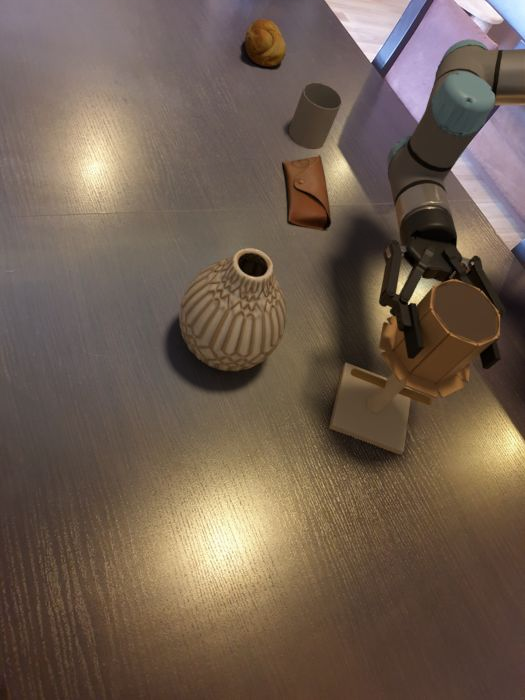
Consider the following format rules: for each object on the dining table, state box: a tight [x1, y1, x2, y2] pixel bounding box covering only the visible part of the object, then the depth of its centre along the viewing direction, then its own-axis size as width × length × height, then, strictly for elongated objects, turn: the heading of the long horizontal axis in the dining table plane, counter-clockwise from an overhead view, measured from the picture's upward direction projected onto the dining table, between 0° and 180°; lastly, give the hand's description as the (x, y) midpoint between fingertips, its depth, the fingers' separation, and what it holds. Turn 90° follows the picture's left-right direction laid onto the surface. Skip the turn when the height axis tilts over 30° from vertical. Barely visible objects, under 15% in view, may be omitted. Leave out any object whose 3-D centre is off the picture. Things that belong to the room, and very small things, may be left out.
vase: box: [178, 247, 287, 372], centre depth 82 cm, size 16×16×20 cm
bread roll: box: [244, 19, 287, 68], centre depth 133 cm, size 13×10×8 cm
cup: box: [288, 82, 343, 150], centre depth 120 cm, size 8×8×10 cm
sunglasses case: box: [282, 154, 332, 231], centre depth 113 cm, size 18×7×7 cm, turn 4°
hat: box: [378, 278, 501, 399], centre depth 72 cm, size 13×13×10 cm
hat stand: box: [328, 362, 434, 456], centre depth 83 cm, size 13×12×20 cm
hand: (454, 358), depth 69 cm, fingers closed on hat, 10 cm apart
